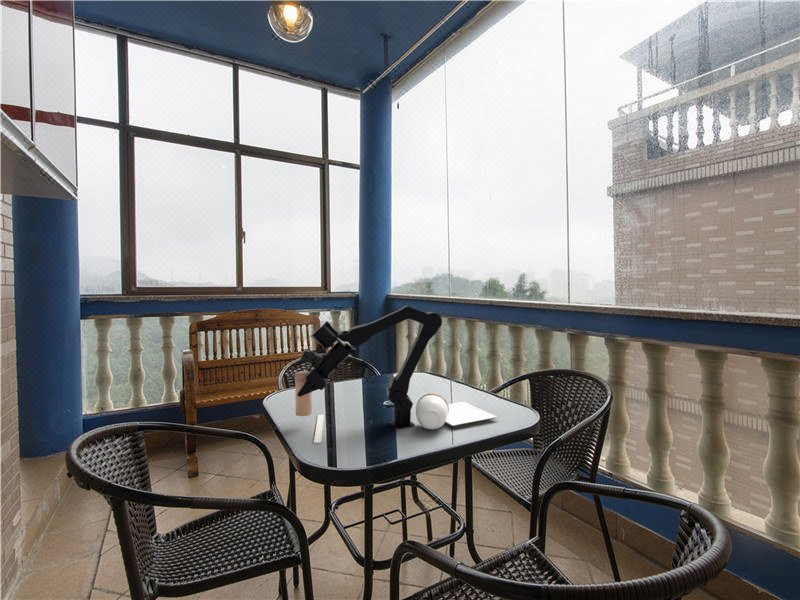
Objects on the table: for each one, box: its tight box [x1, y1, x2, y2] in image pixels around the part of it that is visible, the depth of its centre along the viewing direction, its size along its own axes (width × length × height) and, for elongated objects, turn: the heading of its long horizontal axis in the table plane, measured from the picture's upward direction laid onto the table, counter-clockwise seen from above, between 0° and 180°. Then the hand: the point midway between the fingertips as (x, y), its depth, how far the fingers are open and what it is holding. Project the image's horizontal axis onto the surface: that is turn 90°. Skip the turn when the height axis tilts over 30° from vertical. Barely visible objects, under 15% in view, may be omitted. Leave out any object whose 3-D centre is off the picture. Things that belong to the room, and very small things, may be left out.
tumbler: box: [294, 370, 313, 417], centre depth 125 cm, size 5×5×13 cm
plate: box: [444, 401, 498, 427], centre depth 139 cm, size 19×19×2 cm
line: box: [313, 414, 325, 445], centre depth 126 cm, size 24×2×1 cm, turn 9°
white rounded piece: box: [415, 393, 449, 431], centre depth 127 cm, size 11×11×9 cm
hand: (299, 393), depth 125 cm, fingers closed on tumbler, 5 cm apart
